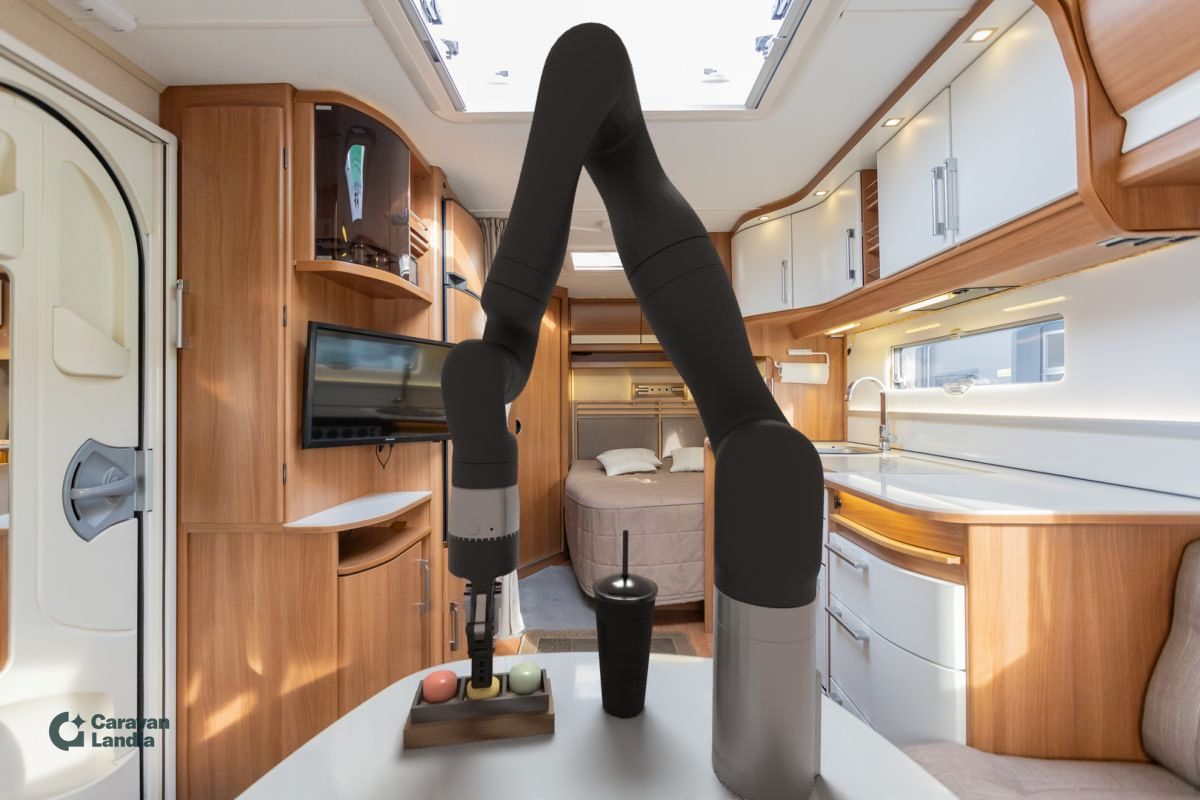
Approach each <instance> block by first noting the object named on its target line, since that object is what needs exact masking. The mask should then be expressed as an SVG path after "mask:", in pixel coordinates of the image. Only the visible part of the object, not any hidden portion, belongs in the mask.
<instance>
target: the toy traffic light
mask: <svg viewBox="0 0 1200 800" xmlns="http://www.w3.org/2000/svg"><path fill="white" fill-rule="evenodd" d="M540 669H541V686H540V688H539V690H538V691H536V692H535V693H533V694H526V695H517V694H514V693H512V692H511V691H510V688H509V684H510V671H507V672H506V671H504V672H496V673H494V672H493V677H496V678H497V679H498V680H499V697H496V698H486V699H476V700H467V685H468V683H469V682H470V681H471V675H464V676H462V675H460V676H457V693H456V695H455V697H454V698H452V699H451V700H449V701H447V702H445V703H436V704H429V703H427V702H425V701H424V699H423V681H424V679H420V680H419V683H418V686H417V688H416V689H417V690H416V691H415V694H414V697H413V701H412V703H411V706H410V709H409V713H408V714H407V718H406V722H405V724H404V728H403V730H402V731H403V739H402V740H403V741H402V742H403V745H402V749H403V751H407V750H415V749H416V750H417V749H424V748H425V749H426V748H433V747H442V746H452V745H459V744H468V743H476V742H484V741H485V742H486V741H493V740H501V739H502V740H503V739H511V738H520V737H528V736H537V735H538V736H539V735H547V734H554V733H555V726H556V725H555V724H556V723H555V722H556V721H555V720H556V718H555V717H556V712H555V705H554V698H553V692H552V691H553V690H552V683H551V678H550V677H548V674H547V668H540Z"/></svg>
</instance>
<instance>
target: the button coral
mask: <svg viewBox="0 0 1200 800" xmlns="http://www.w3.org/2000/svg"><path fill="white" fill-rule="evenodd" d="M457 677H458V676H457V674H456V672H455V671H452V670H449V669H448V670H447V669H443V670H442V669H441V670H438V671H434V672H431V673H429V674H428V675H427V676H426V677H425V678H424V679H423V680H424V681H423V699H424V701H425V702H427V703H429V704H436V703H445V702H447V701H449V700H451V699H452V698H454V697H455V695H456V693H457Z"/></svg>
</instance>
